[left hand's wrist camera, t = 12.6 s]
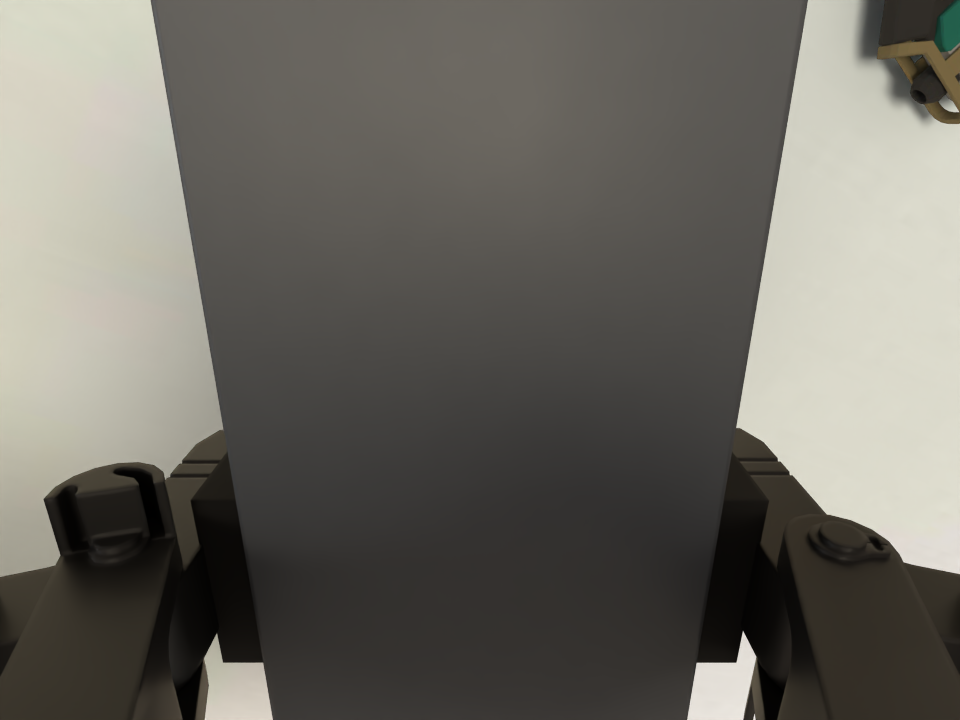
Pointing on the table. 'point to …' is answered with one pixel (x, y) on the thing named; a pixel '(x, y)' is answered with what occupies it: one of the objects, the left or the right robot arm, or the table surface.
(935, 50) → the spray gun
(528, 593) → the bar
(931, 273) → the table surface
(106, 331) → the table surface
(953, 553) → the table surface
